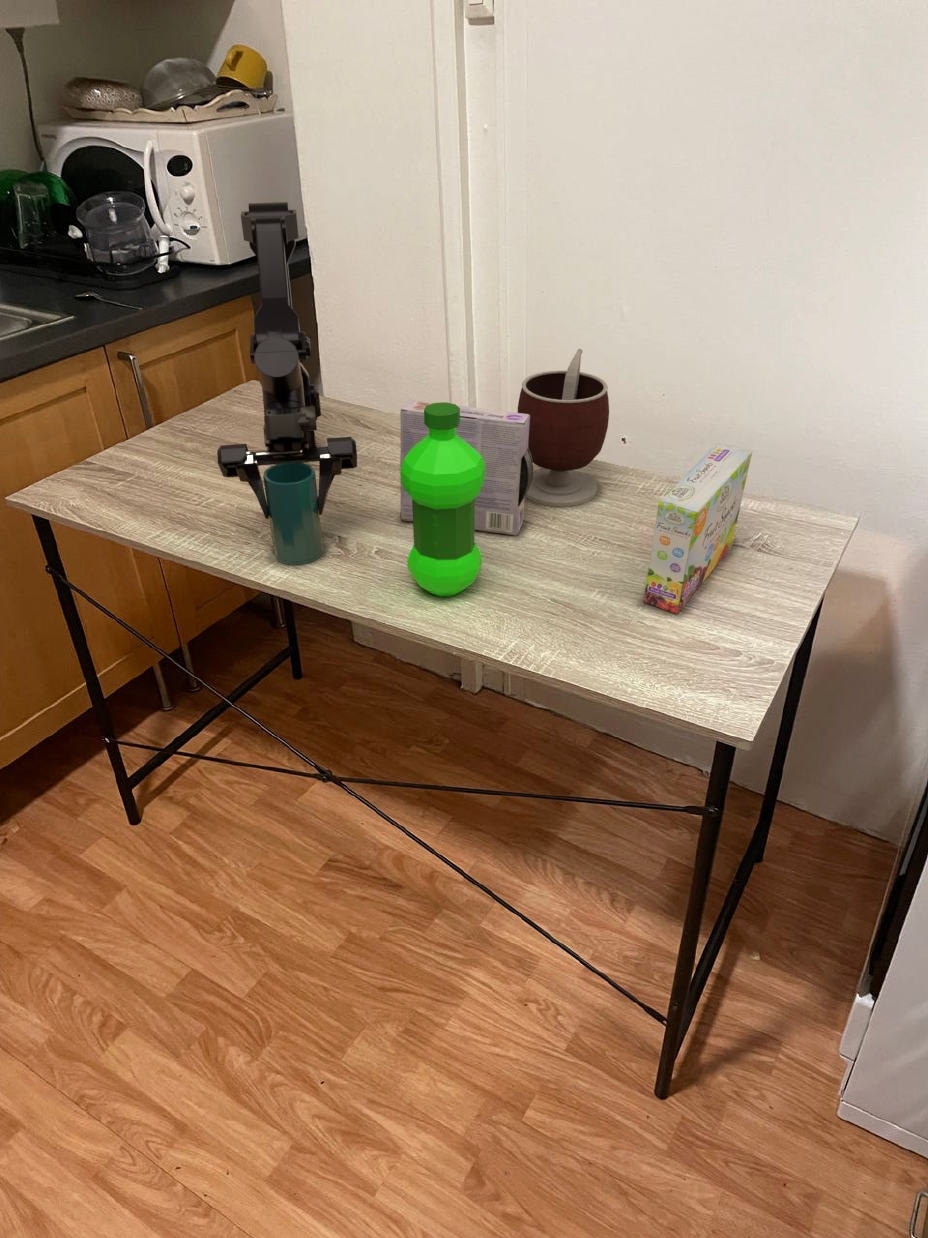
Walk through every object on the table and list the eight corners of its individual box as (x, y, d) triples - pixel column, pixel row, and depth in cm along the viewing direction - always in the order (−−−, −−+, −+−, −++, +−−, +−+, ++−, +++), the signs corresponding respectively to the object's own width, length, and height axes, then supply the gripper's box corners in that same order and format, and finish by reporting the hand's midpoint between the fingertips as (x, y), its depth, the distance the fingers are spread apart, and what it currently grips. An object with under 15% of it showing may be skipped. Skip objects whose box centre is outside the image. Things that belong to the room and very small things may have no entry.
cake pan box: (531, 522, 138) (536, 410, 128) (524, 538, 134) (529, 424, 124) (409, 507, 142) (405, 397, 132) (399, 522, 138) (394, 410, 128)
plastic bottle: (431, 558, 129) (426, 387, 115) (497, 579, 125) (501, 403, 110) (391, 592, 122) (381, 414, 108) (459, 615, 118) (458, 432, 103)
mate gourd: (590, 515, 140) (600, 388, 128) (503, 500, 144) (506, 376, 132) (612, 472, 152) (624, 353, 140) (532, 460, 156) (537, 343, 144)
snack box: (682, 617, 117) (698, 512, 109) (640, 604, 120) (654, 500, 111) (735, 545, 132) (754, 448, 123) (698, 535, 134) (714, 439, 126)
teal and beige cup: (312, 536, 135) (303, 457, 127) (330, 557, 130) (322, 477, 122) (268, 548, 132) (256, 468, 125) (284, 570, 127) (273, 488, 120)
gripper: (207, 388, 119) (215, 503, 117) (350, 380, 122) (362, 492, 119) (219, 422, 130) (227, 528, 128) (351, 414, 133) (362, 517, 130)
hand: (293, 516), depth 126 cm, fingers closed on teal and beige cup, 7 cm apart
